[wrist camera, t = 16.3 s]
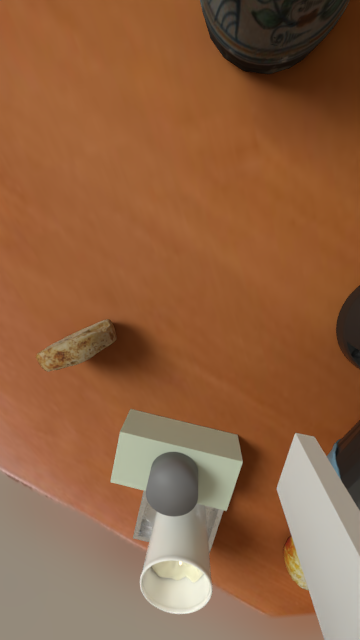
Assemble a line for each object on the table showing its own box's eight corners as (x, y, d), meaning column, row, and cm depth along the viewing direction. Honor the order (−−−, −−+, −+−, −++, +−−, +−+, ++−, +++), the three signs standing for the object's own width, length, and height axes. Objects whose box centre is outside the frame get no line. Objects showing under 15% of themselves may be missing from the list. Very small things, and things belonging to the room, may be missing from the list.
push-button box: (237, 434, 45) (247, 484, 36) (223, 481, 48) (228, 539, 38) (130, 409, 46) (111, 450, 36) (121, 456, 48) (100, 507, 38)
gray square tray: (227, 483, 48) (228, 495, 45) (207, 543, 51) (208, 557, 49) (150, 464, 48) (147, 475, 46) (136, 525, 51) (132, 538, 49)
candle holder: (215, 526, 49) (219, 611, 38) (162, 533, 51) (150, 617, 39) (202, 481, 47) (203, 555, 36) (147, 489, 49) (130, 563, 37)
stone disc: (69, 356, 44) (32, 386, 35) (58, 336, 44) (17, 359, 34) (127, 334, 43) (106, 358, 33) (117, 312, 42) (92, 330, 32)
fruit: (265, 534, 49) (291, 578, 41) (313, 500, 50) (347, 536, 43) (292, 580, 51) (322, 631, 43) (338, 546, 52) (374, 589, 44)
